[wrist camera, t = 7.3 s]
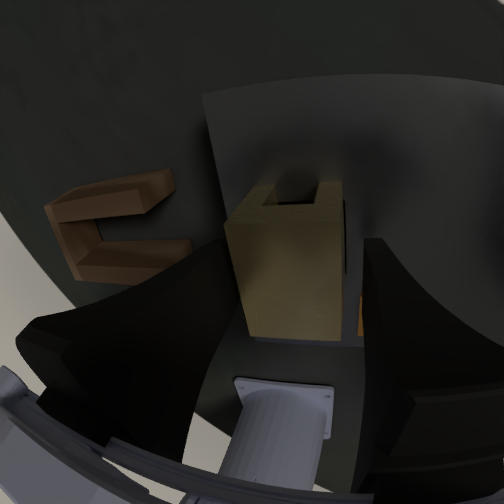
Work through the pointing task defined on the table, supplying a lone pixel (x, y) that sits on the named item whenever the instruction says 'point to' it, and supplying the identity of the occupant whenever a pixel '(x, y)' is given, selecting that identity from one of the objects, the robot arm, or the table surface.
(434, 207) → the dark grey l-shaped block
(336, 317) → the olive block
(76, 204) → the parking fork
